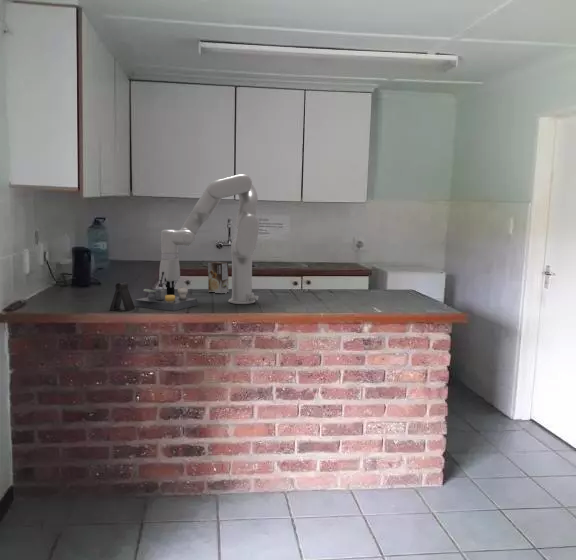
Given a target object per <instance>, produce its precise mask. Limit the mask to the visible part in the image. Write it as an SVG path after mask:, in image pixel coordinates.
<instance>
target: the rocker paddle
mask: <svg viewBox="0 0 576 560" xmlns="http://www.w3.org/2000/svg"><path fill="white" fill-rule="evenodd" d="M143 292H147V293H148V295H149V294H153V295H156V289H148V288H144V289H143Z"/></svg>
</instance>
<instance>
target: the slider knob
mask: <svg viewBox="0 0 576 560" xmlns="http://www.w3.org/2000/svg"><path fill="white" fill-rule="evenodd" d="M155 290H156V299H165V295H166V288H164V287H157V288H156V289H155Z"/></svg>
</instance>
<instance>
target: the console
mask: <svg viewBox="0 0 576 560" xmlns="http://www.w3.org/2000/svg"><path fill="white" fill-rule="evenodd" d="M196 306H198V299H197V298H193V297H186V300H179V296H176V295H175V301H174V302H173V303H167V302H166V301H165V299H156V295H153V294H149V293H148V295H147V297H142V298H137V299H134V307H136V308H137V307H140V308H146V309H155V310H162V311H163V310H164V311H170V312H171V311H172V312H174V311H175V312H176V311H180V310H184V309H188V308H190V307H196Z"/></svg>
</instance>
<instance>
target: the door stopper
mask: <svg viewBox="0 0 576 560" xmlns="http://www.w3.org/2000/svg"><path fill="white" fill-rule="evenodd" d="M114 288H115V291H114V295H113V298H112V302H111V305H110V307H109V311H113V312H115V311H116V312H130V311H132V310H135V309H136V306H135V303H134V302H133V298H132V296H131V293H130V290H129V283H128V282H127V281H121V282H117V283H116V284H115V287H114ZM121 304H123V306H122V307H121Z"/></svg>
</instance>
